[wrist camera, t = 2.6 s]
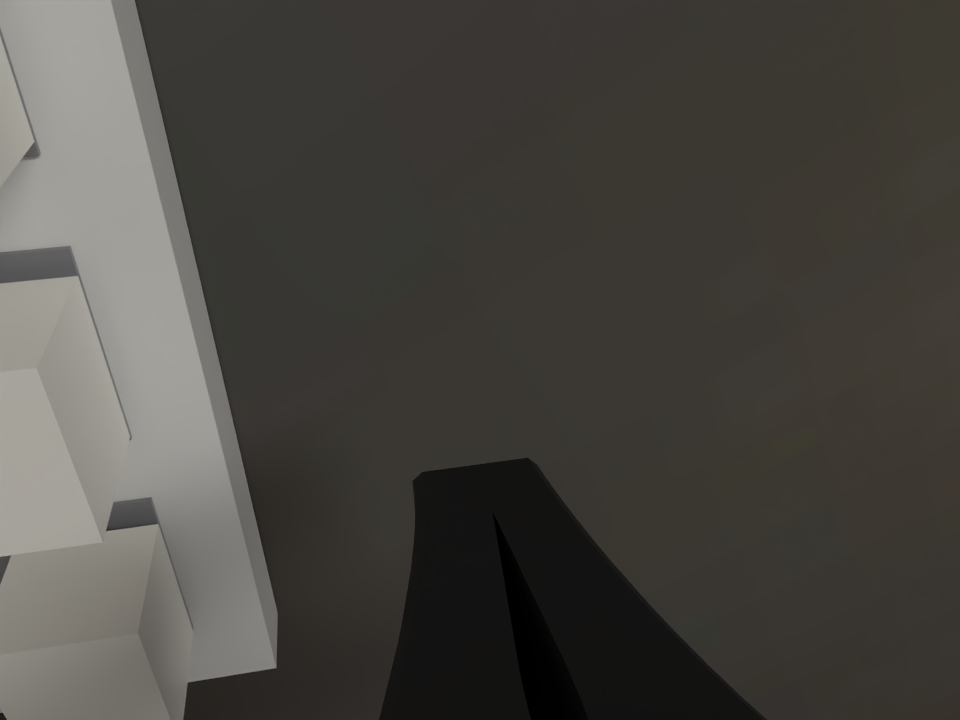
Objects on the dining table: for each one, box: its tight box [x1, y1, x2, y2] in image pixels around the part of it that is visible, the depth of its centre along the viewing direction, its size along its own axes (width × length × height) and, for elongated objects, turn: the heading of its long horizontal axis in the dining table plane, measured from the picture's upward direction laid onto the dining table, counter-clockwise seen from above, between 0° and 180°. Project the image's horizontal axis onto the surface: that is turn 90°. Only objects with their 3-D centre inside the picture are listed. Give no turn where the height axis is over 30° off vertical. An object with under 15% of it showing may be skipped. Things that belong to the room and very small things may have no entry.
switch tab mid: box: [0, 276, 130, 557], centre depth 12 cm, size 3×2×2 cm
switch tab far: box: [0, 524, 194, 720], centre depth 15 cm, size 3×2×2 cm
